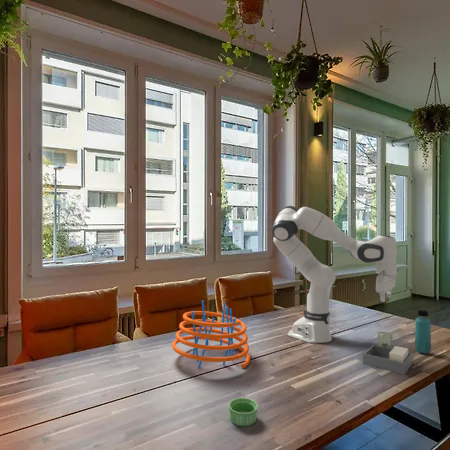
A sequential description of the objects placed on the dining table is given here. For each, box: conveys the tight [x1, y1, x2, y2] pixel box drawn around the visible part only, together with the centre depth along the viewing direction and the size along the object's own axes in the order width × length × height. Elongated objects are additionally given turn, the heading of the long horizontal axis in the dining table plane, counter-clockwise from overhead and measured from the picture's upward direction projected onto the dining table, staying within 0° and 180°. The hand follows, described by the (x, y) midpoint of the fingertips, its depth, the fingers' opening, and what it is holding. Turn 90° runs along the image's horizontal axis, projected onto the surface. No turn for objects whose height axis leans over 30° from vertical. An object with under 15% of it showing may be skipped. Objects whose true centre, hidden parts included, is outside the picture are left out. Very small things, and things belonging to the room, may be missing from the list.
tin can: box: [376, 331, 394, 349], centre depth 163 cm, size 6×6×8 cm
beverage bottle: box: [414, 309, 432, 354], centre depth 161 cm, size 6×7×20 cm
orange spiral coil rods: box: [171, 300, 251, 369], centre depth 153 cm, size 34×35×24 cm
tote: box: [362, 344, 413, 375], centre depth 148 cm, size 16×14×5 cm
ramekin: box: [228, 397, 259, 427], centre depth 108 cm, size 9×9×4 cm
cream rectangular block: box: [389, 345, 409, 363], centre depth 145 cm, size 5×10×6 cm, turn 141°
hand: (385, 299), depth 162 cm, fingers open, 8 cm apart
